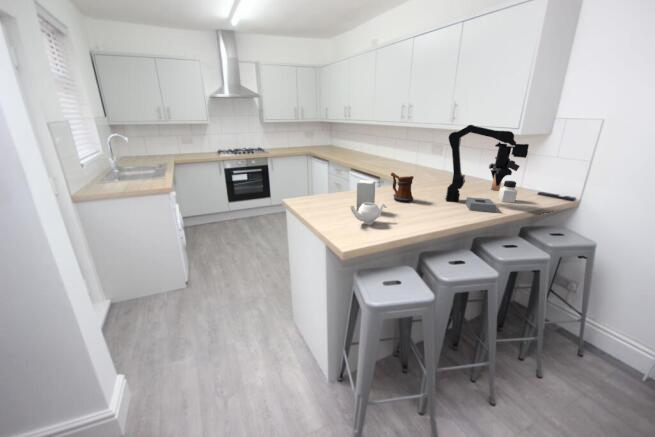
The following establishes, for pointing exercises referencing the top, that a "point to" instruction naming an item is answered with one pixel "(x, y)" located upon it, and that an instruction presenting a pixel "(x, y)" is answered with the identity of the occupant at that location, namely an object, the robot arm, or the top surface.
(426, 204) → the top surface
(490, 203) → the socket block
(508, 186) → the medicine bottle
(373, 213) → the teapot
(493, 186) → the peg
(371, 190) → the skincare box
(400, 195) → the mug
